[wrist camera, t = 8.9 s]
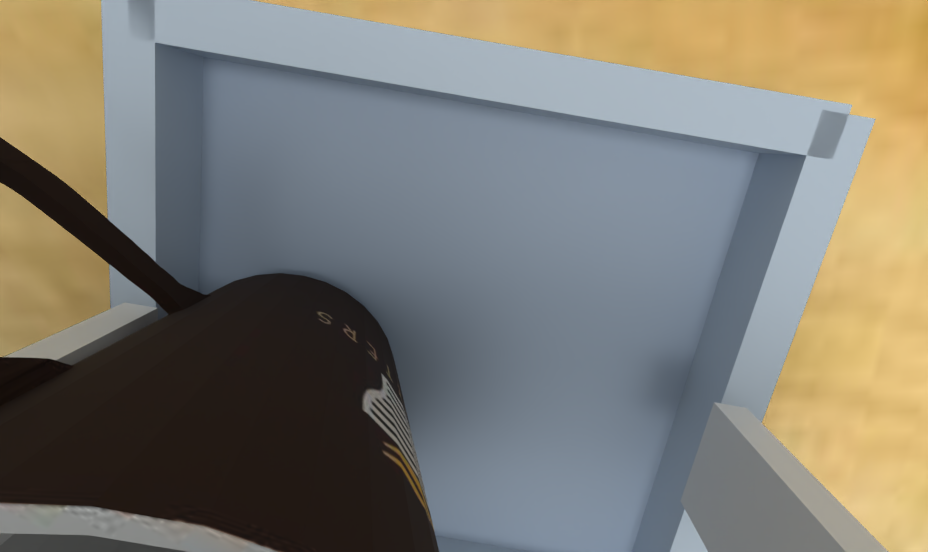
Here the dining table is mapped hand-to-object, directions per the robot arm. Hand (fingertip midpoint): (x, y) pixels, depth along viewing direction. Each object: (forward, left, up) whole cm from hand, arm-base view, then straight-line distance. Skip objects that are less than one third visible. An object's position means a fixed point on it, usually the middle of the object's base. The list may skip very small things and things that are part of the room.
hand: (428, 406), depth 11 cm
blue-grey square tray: (0, 0, -5) cm, 5 cm away
